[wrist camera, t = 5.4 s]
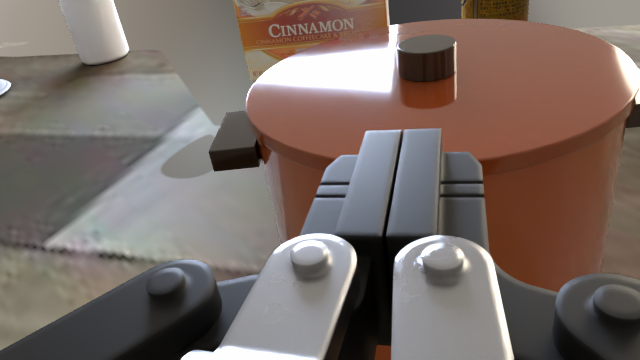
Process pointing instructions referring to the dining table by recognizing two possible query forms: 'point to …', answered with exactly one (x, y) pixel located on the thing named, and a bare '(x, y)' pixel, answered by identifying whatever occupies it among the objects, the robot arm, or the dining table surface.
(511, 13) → the condiment
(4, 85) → the chalice
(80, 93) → the dining table surface
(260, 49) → the coffeecake box
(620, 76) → the pot
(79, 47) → the can
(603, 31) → the dining table surface
